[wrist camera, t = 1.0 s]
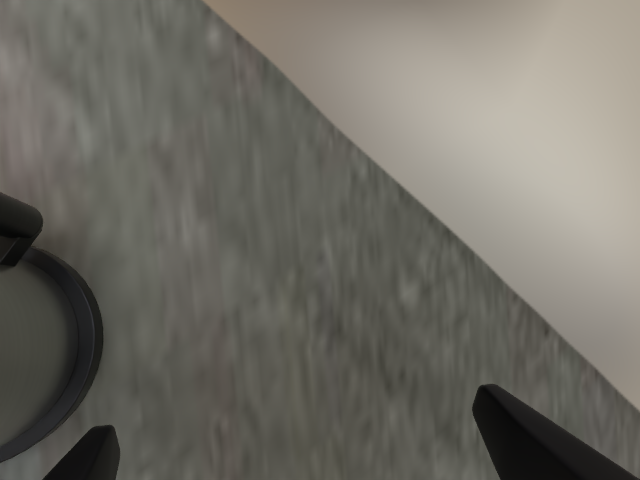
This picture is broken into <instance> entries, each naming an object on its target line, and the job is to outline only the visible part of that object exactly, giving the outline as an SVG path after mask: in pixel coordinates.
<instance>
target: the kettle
mask: <svg viewBox="0 0 640 480" xmlns="http://www.w3.org/2000/svg"><path fill="white" fill-rule="evenodd" d="M42 227H43V218H42V215H41V214H40V212H39V211H38V210H37V209H35V208H34V207H32V206H30V205H28V204H26V203H23V202H21V201H19V200H17V199H14V198H12V197H10V196H7V195H5V194H3V193H0V463H1V462H3V461H6V460H8V459H11V458H12V457H14V456H16V455H18V454H20V453H22V452H23V451H25V450H27V449H29V448H30V447H32V446H33V445H35V444H36V443H38V442H39V441H41V440H42V439H44V438H45V437H46V436H48V435H49V434H51V433H52V432H53V431H54V430H56V429H57V428H58V427H59V426H60V425H61V424H62V423H64V422H65V421H66V419H67V418H68V417H69V416H70V415H71V414H72V413H73V412H74V411H75V410H76V408H77V407H78V405H79V404H80V403H81V401H82V400H83V398H84V397H85V395H86V393H87V392H88V390H89V388H90V386H91V384H92V382H93V380H94V377H95V375H96V372H97V370H98V366H99V362H100V358H101V353H102V345H103V327H102V320H101V314H100V311H99V308H98V305H97V302H96V300H95V298H94V296H93V294H92V292H91V290H90V288H89V287H88V285H87V284H86V282H85V281H84V280H83V278H82V277H81V276H80V275H79V274H78V273H77V272H76V271H75V270H74V269H73V268H72V267H70V266H69V265H68V264H67V263H66V262H64V261H63V260H61V259H59V258H58V257H56V256H54V255H53V254H50V253H48V252H46V251H44V250H41V249H39V248H35V247H32V246H31V244H32V243H33V242H34V240H35V239H36V238H37V236H38V235H39V233H40V232H41V231H42Z"/></svg>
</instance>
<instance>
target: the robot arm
mask: <svg viewBox="0 0 640 480" xmlns="http://www.w3.org/2000/svg"><path fill="white" fill-rule="evenodd" d="M472 411H473V416H474V419H475V421H476V423H477V426H478V428H479V431H480V433H481V435H482V438H483V440H484V442H485V445H486V447H487V450H488V452H489V454H490V457H491V459H492V462H493V464H494V466H495V469H496V471H497V473H498V475H499V477H500V479H501V480H640V479H638V478H637V477H635V476H634V475H632V474H631V473H629V472H628V471H626V470H625V469H623V468H622V467H620V466H619V465H617V464H616V463H614V462H613V461H611V460H610V459H608V458H607V457H605V456H604V455H602V454H601V453H599V452H598V451H596V450H595V449H593V448H591V447H590V446H588V445H587V444H585V443H584V442H582V441H581V440H579V439H578V438H576V437H575V436H573V435H572V434H570V433H569V432H567V431H566V430H564V429H563V428H561V427H560V426H558V425H557V424H555V423H554V422H552V421H551V420H549V419H548V418H546V417H545V416H543V415H542V414H540V413H539V412H537V411H536V410H534V409H533V408H531V407H529V406H528V405H526V404H525V403H523V402H522V401H520V400H519V399H517V398H516V397H514V396H513V395H511V394H510V393H508V392H507V391H505V390H504V389H502V388H501V387H499V386H498V385H495V384H487V385H481V386H480V387H479V388H478V390H477V393H476V397H475V400H474V403H473V407H472ZM119 460H120V447H119V443H118V439H117V436H116V432H115V428H114V427H113V426H112V425H104V426H96V427H93V428H91V429H90V430H89V431H88V432H87V433H86V434H85V435H84V436H83V437H82V438H81V439H80V440H79V441H78V442H77V444H76V445H75V446H74V447H73V448H72V449H71V450H70V451H69V452H68V453H67V454H66V455H65V456H64V457H63V458H62V459H61V460H60V461H59V462H58V464H57V465H56V466H55V467H54V468H53V469H52V470H51V471H50V472H49V473H48V474H47V475H46V476H45V477H44V478H43V479H42V480H116V475H117V470H118V465H119Z"/></svg>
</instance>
